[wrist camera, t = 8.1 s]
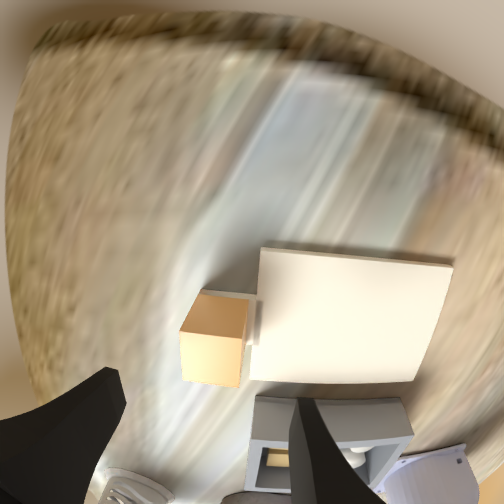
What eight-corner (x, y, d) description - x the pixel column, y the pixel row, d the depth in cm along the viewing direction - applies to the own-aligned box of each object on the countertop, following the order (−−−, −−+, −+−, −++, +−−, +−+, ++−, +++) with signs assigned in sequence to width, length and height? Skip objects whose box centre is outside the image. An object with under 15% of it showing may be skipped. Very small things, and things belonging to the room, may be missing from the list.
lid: (448, 264, 15) (488, 294, 11) (409, 374, 18) (430, 417, 14) (201, 241, 16) (176, 272, 12) (202, 366, 19) (186, 414, 15)
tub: (399, 397, 19) (414, 435, 15) (367, 454, 21) (374, 487, 17) (255, 395, 19) (250, 439, 15) (248, 453, 22) (243, 490, 18)
